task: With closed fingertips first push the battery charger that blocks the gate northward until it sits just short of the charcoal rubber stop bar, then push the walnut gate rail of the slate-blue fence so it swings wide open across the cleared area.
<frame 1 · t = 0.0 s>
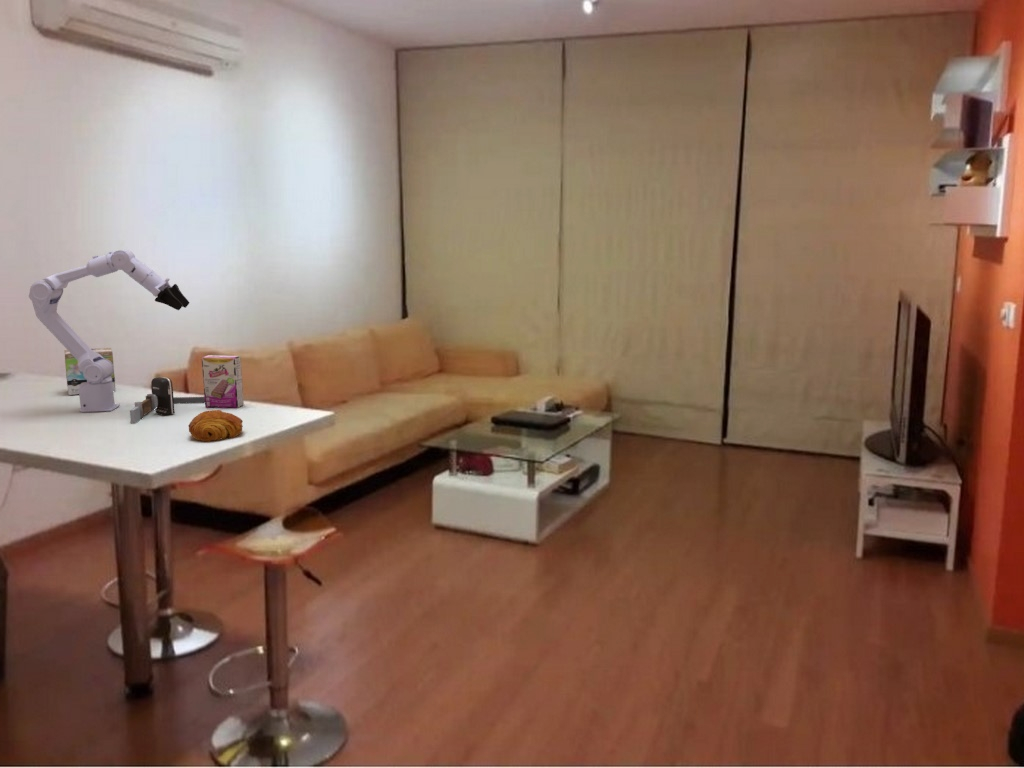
hand: (184, 306, 269), 32 cm above the table, tool tilted 50°, fingers open, 7 cm apart
battery charger: (163, 414, 266), on the table
tea box: (92, 392, 301), on the table
stop bar: (179, 403, 281), on the table
gate: (145, 405, 265), point 3 cm above the table, hinge at 0.0°
fence: (145, 414, 265), on the table
croissant: (217, 436, 240), on the table
candy bar box: (224, 407, 275), on the table
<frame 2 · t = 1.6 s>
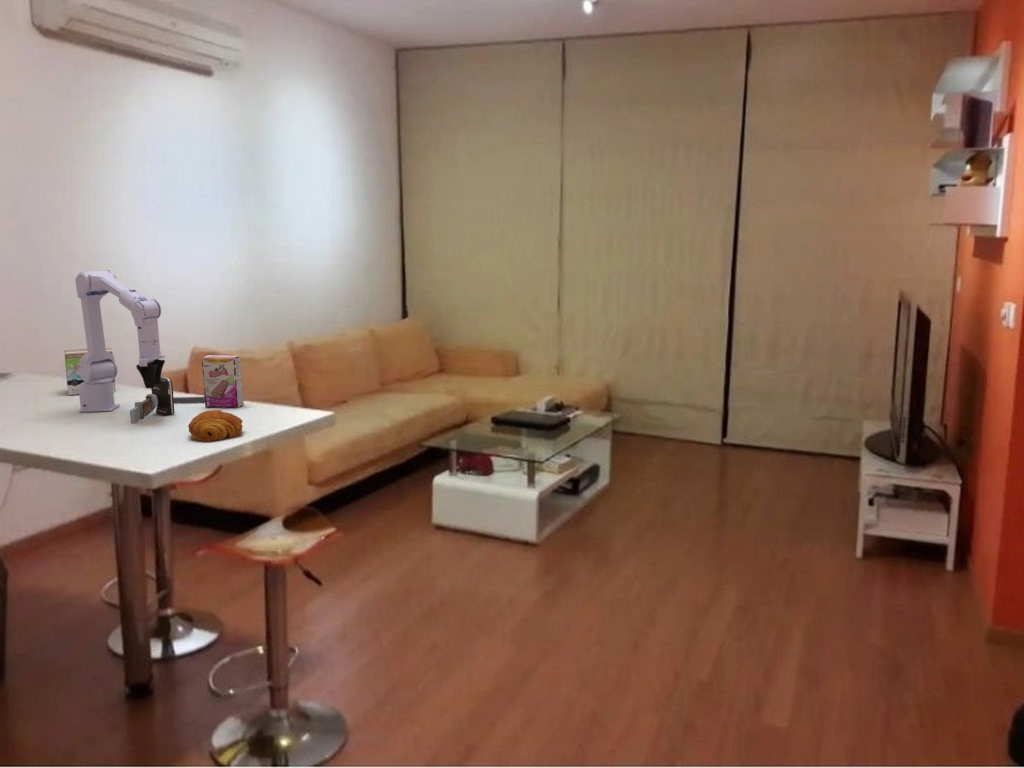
hand: (152, 386, 256), 10 cm above the table, tool pointing down, fingers open, 5 cm apart
nothing on the table moved.
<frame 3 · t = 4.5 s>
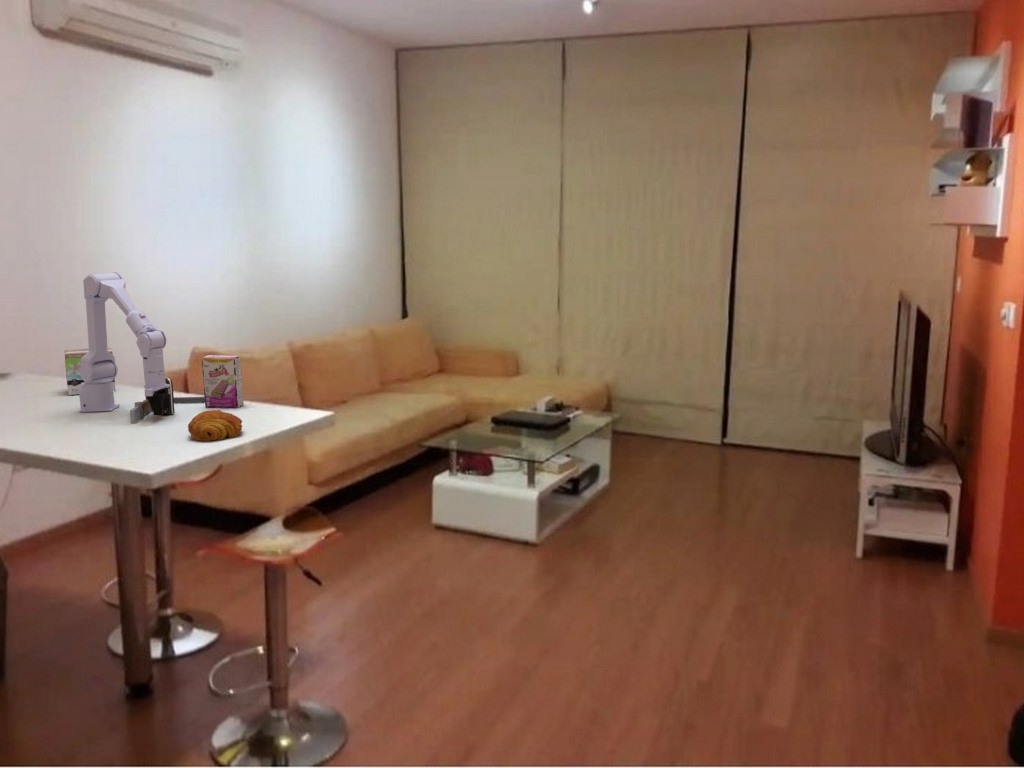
hand: (158, 414, 260), 1 cm above the table, tool pointing down, fingers closed
battery charger: (163, 414, 266), on the table, touching gripper
everything else where it was.
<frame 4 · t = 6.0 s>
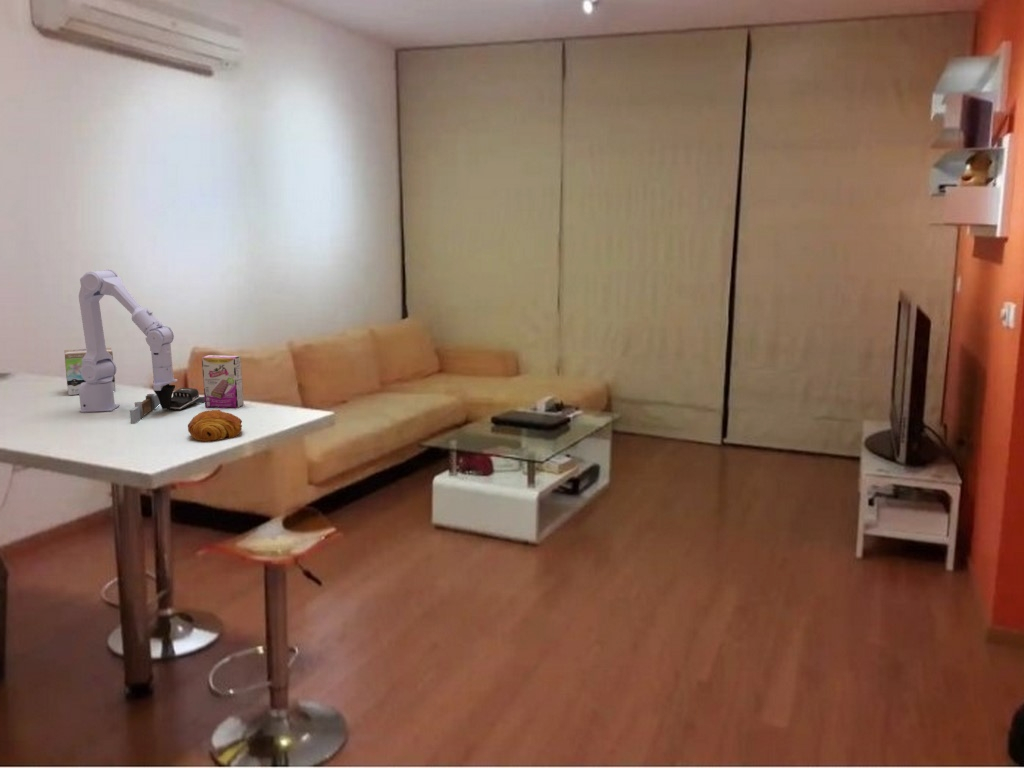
hand: (166, 408, 268), 1 cm above the table, tool pointing down, fingers closed
battery charger: (169, 404, 269), point 2 cm above the table, touching gripper
everything else where it was.
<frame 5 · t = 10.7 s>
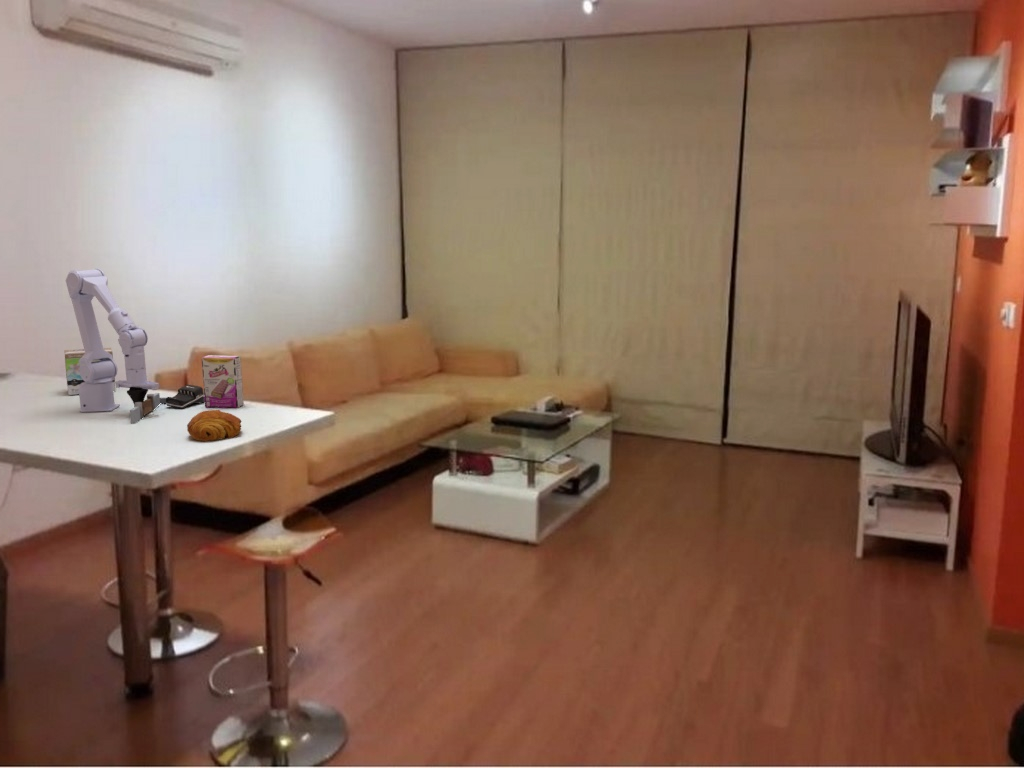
hand: (139, 411, 265), 1 cm above the table, tool pointing down, fingers closed, pressing on gate
battery charger: (172, 402, 272), point 2 cm above the table, touching stop bar
gate: (146, 405, 265), point 3 cm above the table, hinge at 2.1°, touching gripper
everything else where it was.
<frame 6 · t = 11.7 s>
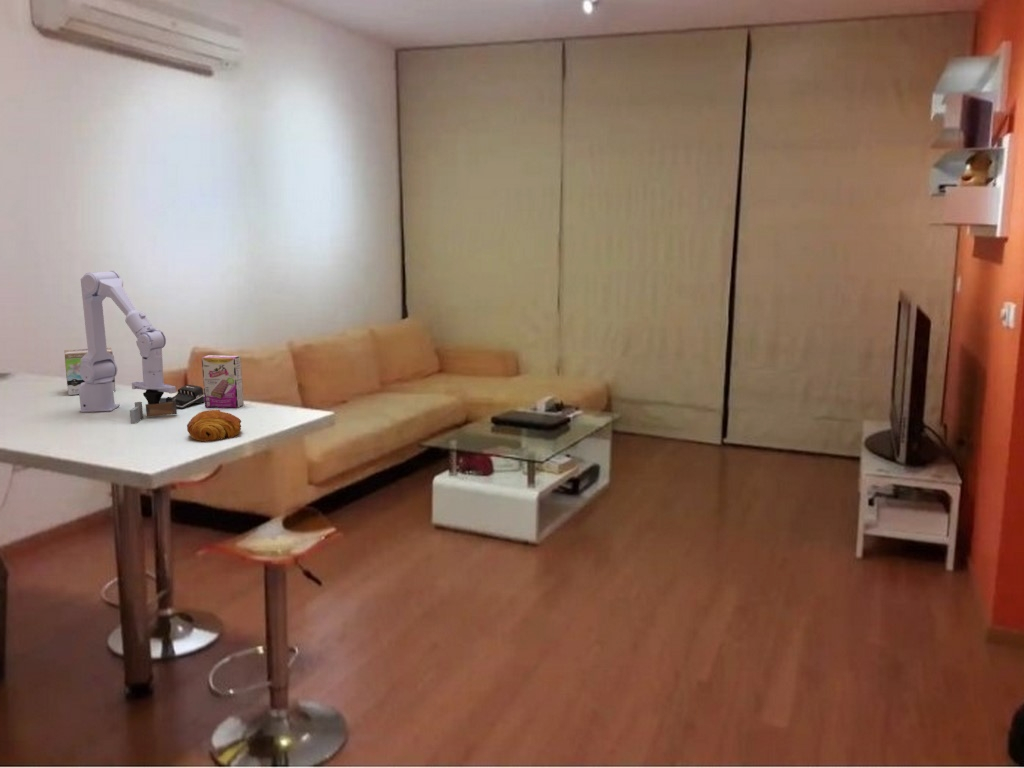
hand: (155, 413, 263), 1 cm above the table, tool pointing down, fingers closed, pressing on gate
gate: (161, 408, 262), point 3 cm above the table, hinge at 72.1°, touching gripper
everything else where it was.
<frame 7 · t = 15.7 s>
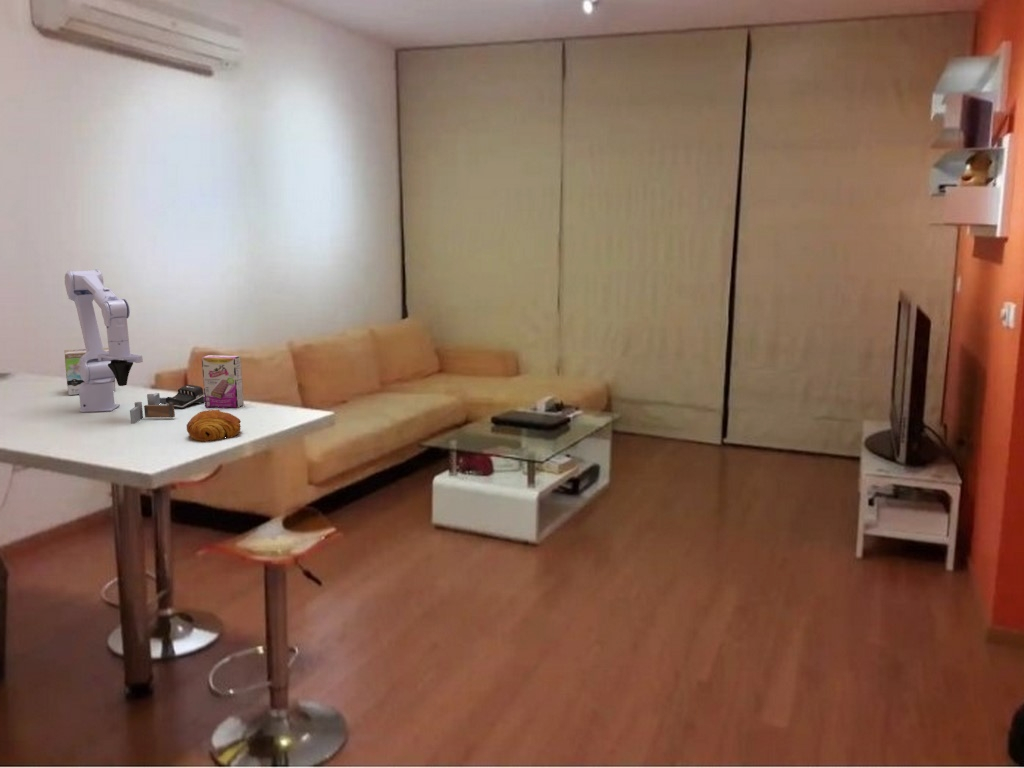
hand: (122, 385, 257), 10 cm above the table, tool pointing down, fingers closed
gate: (159, 410, 259), point 3 cm above the table, hinge at 97.5°
everything else where it was.
at the end: gate at +98° (first picture: +0°); battery charger inside the target area (3.6 cm from its centre), point 2.1 cm above the table; battery charger moved 7.3 cm from its start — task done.
